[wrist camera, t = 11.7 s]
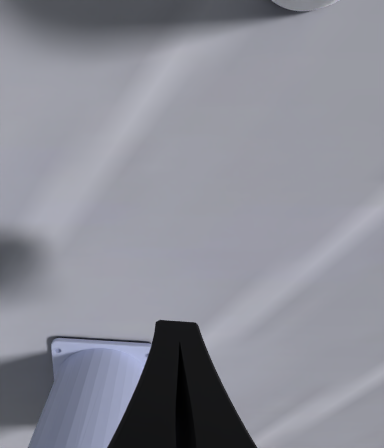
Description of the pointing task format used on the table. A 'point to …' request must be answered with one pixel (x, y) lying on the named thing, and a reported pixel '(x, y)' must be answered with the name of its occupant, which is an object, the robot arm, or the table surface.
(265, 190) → the table surface
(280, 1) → the grey cylinder
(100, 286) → the table surface
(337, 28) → the table surface
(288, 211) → the table surface
